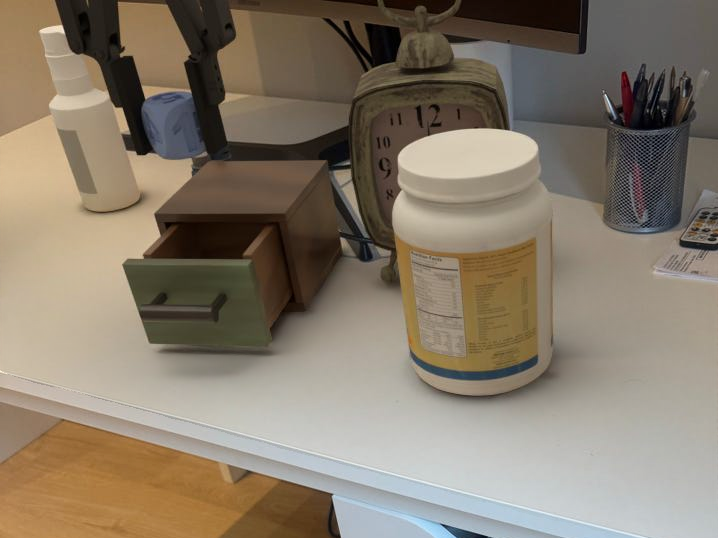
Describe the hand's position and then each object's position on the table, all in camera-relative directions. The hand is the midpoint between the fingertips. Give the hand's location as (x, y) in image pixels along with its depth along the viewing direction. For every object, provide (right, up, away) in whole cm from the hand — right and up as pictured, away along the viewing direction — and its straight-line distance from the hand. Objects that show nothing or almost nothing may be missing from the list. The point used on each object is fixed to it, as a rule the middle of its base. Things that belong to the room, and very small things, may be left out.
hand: (182, 148), depth 75 cm
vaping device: (-4, +6, +28) cm, 28 cm away
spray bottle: (-20, +13, +36) cm, 43 cm away
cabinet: (+3, -4, +17) cm, 18 cm away
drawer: (+1, -11, +9) cm, 14 cm away
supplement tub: (+25, -17, +2) cm, 31 cm away
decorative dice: (0, 0, 0) cm, 0 cm away
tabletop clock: (+21, -3, +17) cm, 27 cm away
